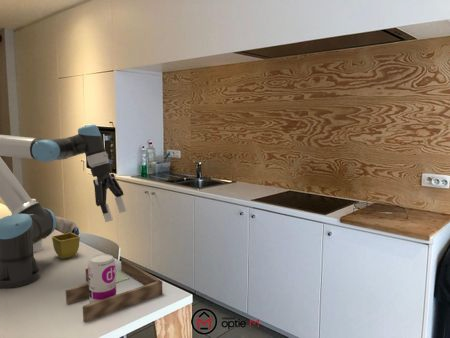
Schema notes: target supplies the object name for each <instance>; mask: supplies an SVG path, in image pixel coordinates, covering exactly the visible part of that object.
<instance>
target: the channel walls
mask: <svg viewBox="0 0 450 338" xmlns="http://www.w3.org/2000/svg"><path fill="white" fill-rule="evenodd" d="M120 267H121V268H120V270H121V272H122V273H123V274H126V276H129V277H131V278H132V279H133V280H135V281H137V282H138V283H140V284H142V285H143V286H140V287H139V286H138V287H136V288H133V289H130V290H127V291H123V292H121V293H118V294H117V293H116V295H114V296H111V297H108V298H105V299H102V300H99V301H96V302H93V303H90V302H89V303H88V304H84V305H83V306H82V319H83V320H82V321H83V322H84V323H86V322H89V321H92V320H94V319H97V318H101V317H103V316H106V315H109V314H112V313H114V312H116V311H118V310H119V311H120V310H122V309H125V308H127V307H131V306H134V305H136V304H139V303H141V302H144V301H147V300H150V299H152V298H155V297H159V296H161V295H163V281H162V280H161V279H159V278H157V277H156V276H154V275H152V274H150V273H149V272H147V271H145V270H144V269H142V268H140V267H138V266H136V265H135V264H133V263H132V262H130V261H128V260H126V259H124V258H122V259H120ZM85 281H86V282H87V283H84V284H82V285H78V286H73V287H71V288H67V289H65V303H66V305H70V304H74V303H77V302H80V301H83V300H87V299H89V276H88V268H85Z"/></svg>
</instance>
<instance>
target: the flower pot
mask: <svg viewBox="0 0 450 338" xmlns="http://www.w3.org/2000/svg"><path fill="white" fill-rule="evenodd" d="M51 240H52V241H51V242H52V246H53V249H54V252H55V253H56V255H57V256H58V257H59V258H61V259H63V260H64V259H68V258H72V257H75V256H76V255H77V254H78V251H79V247H80V240H81V236H80V235H78V234H75V233H73V232H67V233H62V234H58V235H53V236H51Z"/></svg>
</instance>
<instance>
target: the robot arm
mask: <svg viewBox="0 0 450 338" xmlns="http://www.w3.org/2000/svg"><path fill="white" fill-rule="evenodd" d="M99 129H100V128H99V127H98V126H97V125H96V124H90V125H84V126H82V127H79V128H78V129H77V134H76V135H72V136H68V137H64V138H52V139H51V138H38V137H29V136H28V137H27V136H16V135H7V134H0V199H1V200H2V202H3V203H4V205H5V206H6V208H8V210H9V212H10V213H11V215H6V216H4V217H2V218H0V288H1V289H11V288H12V289H14V288H18V287H23V286H27V285H29V284H32V283H34V282H36V281H37V280H39V279H40V277H41V269H40V267H39V265H38V263H37V260H36V257H35V252H34V251H33V244H35V243H36V242H38V241H40V240H42V241H43V239H46V238H48V237H49V236H50V235H52V233H53V232H55V230H56V227H57V217H56V215H55V213H54V212H53V211H52V210H51V209H49V208H45V207H43V206H42V205H41V203H40V202H39V201H36V202H35V201H32V199H33V198H31V197H30V195H29V194H28V193H27V191H26V190H25V188H24V187H23V185H21V182H20V181H19V180H18V179H17V177H16V176H15V175H14V173H13V172H12V171H11V169H10V168H9V167H8V165H7V163H6V162H5V161H4V160H3V158H2V157H8V158H9V157H12V158H18V159H19V158H22V159H33V160H37V161H39V162H42V163H43V162H44V163H45V162H46V163H48V162H49V163H51V162H53V161H61V160H67V159H70V158H73V157H76V156H79V155H82V154H85V157H86V160H87V164H88V166H89V167H90V169H89V170H90V172H91V175H92V177H93V178H95V179H93V180H92V181H93V186H94V198H95V199H94V200H95V205H96V206H97V207H100V210H101V212H102V216H103V218H104V221H105V223H107V222H112V221H113V220H114V218H113V216H112V212H111V210H110V207H109V203H107V194H108V193H107V192H108V190H109V191H110V192H111V193H112V194H113V195H114V200H115V203H116V207H117V209H118V212H119V213H120V214H122V213H124V212H127V209H126V206H125V203H124V199H123V196H124V190H122V187H121V186H120V184H119V183H118V181H117V179H116V176H115V174H114V173H112V171H113V169H112V166H111V163H110V162H109V154H108V153H107V151H106V148H105V145H104V141H103V138H102V134H101V132H100V130H99Z"/></svg>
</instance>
